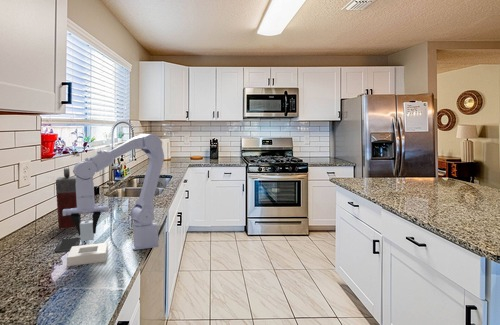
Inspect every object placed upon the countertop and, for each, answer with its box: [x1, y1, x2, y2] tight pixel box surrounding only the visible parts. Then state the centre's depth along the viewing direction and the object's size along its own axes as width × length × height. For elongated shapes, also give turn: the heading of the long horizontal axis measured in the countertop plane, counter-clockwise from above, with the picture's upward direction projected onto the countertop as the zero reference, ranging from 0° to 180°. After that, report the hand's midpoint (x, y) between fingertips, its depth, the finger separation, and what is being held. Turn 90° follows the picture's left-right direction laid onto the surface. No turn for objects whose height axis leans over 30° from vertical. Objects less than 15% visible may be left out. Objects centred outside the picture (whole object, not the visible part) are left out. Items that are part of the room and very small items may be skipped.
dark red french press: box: [55, 167, 77, 230], centre depth 164 cm, size 9×11×28 cm
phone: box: [54, 237, 81, 253], centre depth 136 cm, size 8×1×15 cm
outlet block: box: [66, 242, 109, 267], centre depth 122 cm, size 12×12×3 cm
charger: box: [79, 219, 95, 242], centre depth 121 cm, size 4×4×6 cm
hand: (87, 233), depth 121 cm, fingers closed on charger, 4 cm apart
